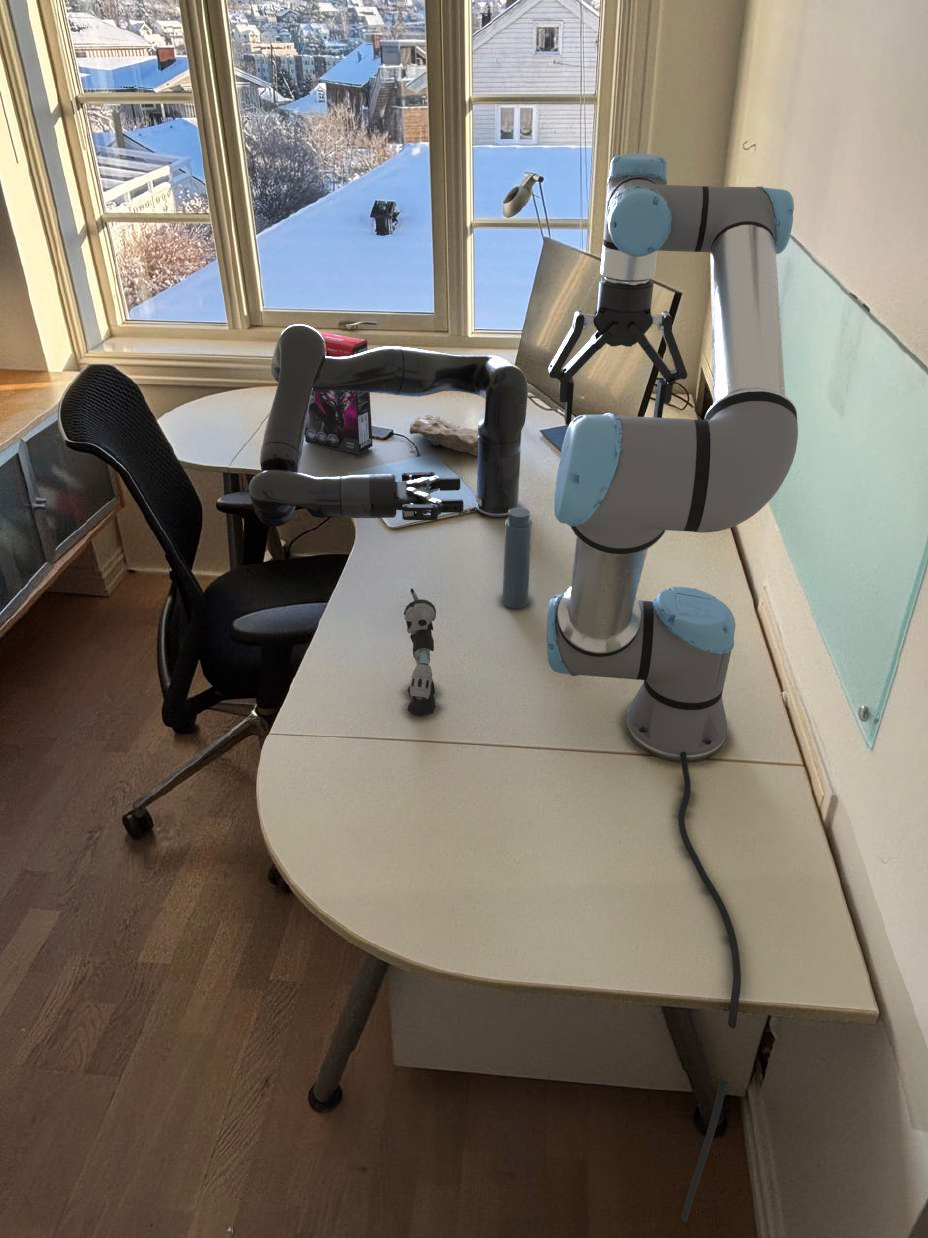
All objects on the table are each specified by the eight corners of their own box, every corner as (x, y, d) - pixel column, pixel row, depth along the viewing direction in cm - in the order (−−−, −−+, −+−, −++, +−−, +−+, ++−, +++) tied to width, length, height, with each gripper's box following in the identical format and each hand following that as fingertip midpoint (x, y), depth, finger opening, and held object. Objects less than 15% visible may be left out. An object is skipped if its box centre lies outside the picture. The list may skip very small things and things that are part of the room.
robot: (438, 740, 141) (437, 632, 129) (406, 740, 140) (402, 633, 129) (435, 663, 157) (434, 561, 146) (406, 664, 157) (403, 562, 145)
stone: (393, 439, 229) (398, 415, 226) (412, 430, 242) (417, 408, 240) (473, 463, 225) (479, 439, 223) (488, 453, 238) (493, 431, 236)
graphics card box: (303, 443, 234) (292, 335, 219) (319, 434, 239) (310, 328, 224) (359, 456, 228) (353, 346, 212) (374, 446, 233) (369, 338, 217)
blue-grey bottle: (531, 598, 174) (536, 509, 164) (521, 611, 171) (526, 520, 160) (508, 592, 176) (512, 503, 166) (498, 604, 173) (501, 514, 162)
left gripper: (370, 497, 168) (459, 495, 168) (368, 535, 156) (464, 533, 157) (368, 459, 163) (459, 457, 164) (366, 495, 152) (464, 493, 152)
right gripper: (710, 272, 132) (689, 414, 143) (536, 270, 132) (529, 412, 143) (722, 285, 125) (699, 432, 137) (539, 283, 125) (531, 431, 137)
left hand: (461, 494), depth 160 cm, fingers open, 8 cm apart
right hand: (612, 422), depth 140 cm, fingers open, 13 cm apart
